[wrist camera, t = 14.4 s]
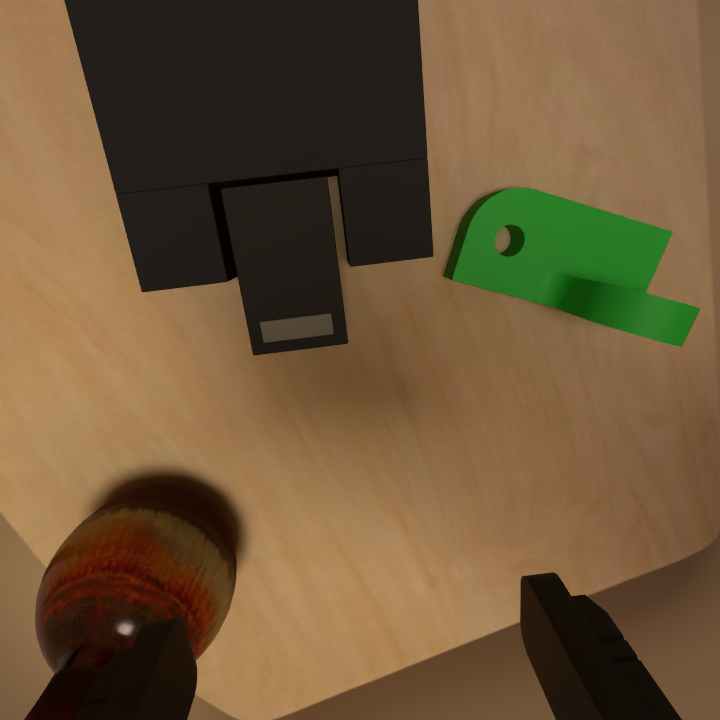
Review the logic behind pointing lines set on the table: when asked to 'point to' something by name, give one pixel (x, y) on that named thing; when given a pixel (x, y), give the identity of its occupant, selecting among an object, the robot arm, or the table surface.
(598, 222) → the mechanical part
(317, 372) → the table surface
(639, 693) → the robot arm
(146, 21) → the base pad
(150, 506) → the vase
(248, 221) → the black box
